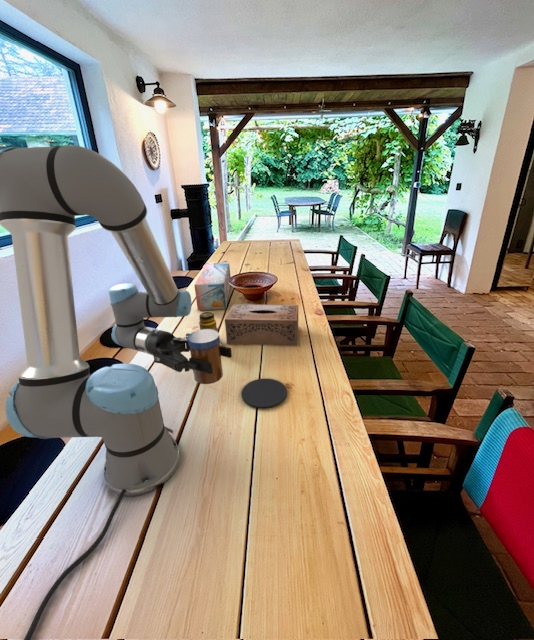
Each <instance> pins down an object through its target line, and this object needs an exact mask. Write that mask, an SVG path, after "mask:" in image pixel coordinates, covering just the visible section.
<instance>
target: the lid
mask: <svg viewBox="0 0 534 640" xmlns="http://www.w3.org/2000/svg"><path fill="white" fill-rule="evenodd" d="M189 334H190V335H189V336H188V346H190V347H191V348H193V349H198V350H203V349H209V348H212V347H214V346H216V345H217V344H218V343H219V342H221V340H220V339H221V337H220V333H219V332H218V330H217V331H215V330H212V329H203V330H200V329H198V330H195V331H193V332H191V333H189Z"/></svg>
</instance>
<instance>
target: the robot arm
mask: <svg viewBox="0 0 534 640" xmlns="http://www.w3.org/2000/svg"><path fill="white" fill-rule="evenodd" d="M76 216H89V217H92V218H94V219H95V220H97V222H98V223H99V224H100V226H101V227H102V229H103V230H105V231H106V232H110V233H111V235H112V236H113V238H114V239H115V241H116V243H117V245H118V247H119V248H120V251H122V253H123V254H124V256H125V258H126V260H127V261H128V263H129V265H130V266H131V268H132V269H133V271H134V273H135V275H136V276H137V278H138V280H139V281H140V283H141V285H142V286H143V288H144V290H145V291H139V289H138V288H137V285H136V284H134V283H129V282H128V283H120V284H116V285H113V286H112V287H111V288H109V290H108V295H109V296H108V297H109V300H110V306H111V309H112V312H113V316H114V320H115V324H114V325H113V327H112V328H111V331H112V332H111V334H110V335H111V340H112V341H113V342H114V343H115V344H117V345H118V346H121V347H122V348H125V349H130V350H134V351H138V352H139V353H140V352H141V353H144V354H147V355H150V356H152V357H153V361H154V363H155V364H161V365H163V366H165V367H167V368H169V369H171V370H173V371H175V372H177V373H181V372H182V371H183V370H184V372H187V373H188V372H190V370H192V371H193V370H199V371H202V372H205V373H208V374H212V373H213V372H212V364H211V363H209V362H205V361H202V360H199V359H195V358H192V357H191V356H190V357H189V358H187V357H186V355H184V354H183V353H190V347H189V346H188V336H189V335H190V334H191V333H186V334H185V336H184V337H176V336H174V334H173V333H172V332H170V331H166V330H162V329H159V328H155V327H150V326H146V325H145V322H144V320H145V318H146V319H147V318H148V319H151V318H180V317H181V318H182V317H188V316H189V315H190V314H191V312H192V306H193V305H192V296H191V294H190V291H189V290H185V289H183V290H182V289H178V287H177V284H176V283H175V281H174V278H173V276H172V274H171V271H170V269H169V267H168V265H167V262H166V261H165V257H164V256H163V253H162V251H161V249H160V247H159V245H158V243H157V240H156V238H155V236H154V234H153V231H152V229H151V227H150V224H149V223H148V220H147V216H148V209H147V206H146V203H145V201H144V199H143V196H142V195H141V193H140V192H139V191H138V189H137V187H136V186H135V184H134V183H133V182H132V181H131V180H130V178H129V177H128V176H127V175H126V173H124V171H122V169H120V168H119V167H118V166H117V165H116V164H115V163H113V162H112V161H111V160H109V159H108V158H106V157H105V156H104V155H102V154H100V153H99V152H96V151H94V150H92V149H90V148H87V147H84V146H81V145H73V144H67V145H66V144H65V145H61V146H60V145H58V146H57V145H56V146H34V147H33V146H32V147H19V146H10V147H9V146H8V147H6V148H3V149H0V226H1V227H2V228H3V229H5V230H6V231H7V232H9V234H10V235H11V239H12V248H13V249H12V251H13V257H14V265H15V272H16V281H17V289H18V290H17V291H18V299H19V306H20V308H19V309H20V316H21V323H22V331H23V339H24V340H23V341H24V348H25V349H24V350H25V356H26V366H24V368H22V370H21V371H20V372H19V373H18V377H17V378H18V381H16V382H15V383H14V384H13V385H12V387H11V388H10V389H9V392H8V394H9V395H10V396H7V397H6V399H5V407H4V409H5V415H6V416H5V417H6V419H7V422H8V424H9V426H10V427H11V428H12V429H13V430H14V431H15V432H16V433H17V434H19V435H21V436H23V437H26V438H37V439H38V438H39V439H42V440H48V439H58V438H61V439H62V438H63V439H64V438H65V439H66V438H102V441H103V443H104V447H105V449H106V450H105V462H104V465H103V466H104V467H103V476H104V480H105V482H106V485H107V487H108V488H109V490H110V491H112V492H113V493H114V494H115V495H118V498H117V499H116V501H115V503H114V505H113V507H112V509H111V511H110V513H109V516H108V517H107V520H106V522H105V525H104V527H103V529H102V531H101V533H100V534H99V535H98V537H97V538H96V540H95V541H94V542H93V543H92V545H91V546H89V548H88V549H87V550H86V551H85V552H84V553H83V554H81V555H80V556H79V557H78V558H76V560H74V562H72V563H71V564H70V565H69V566H68V567H67V568H66V569H65V570H64V571H63V572H62V573H61V574H60V575H59V577H58V578H57V579H56V581H54V583H53V584H52V586H51V587H50V589H49V590H48V592H47V593H46V595H45V596H44V598H43V600H42V602H41V603H40V605H39V607H38V609H37V611H36V613H35V615H34V617H33V619H32V622H31V623H30V625H29V627H28V628H29V629H28V630H27V632H26V634H25V637H24V639H23V640H32V638H33V636H34V633H35V631H36V629H37V627H38V624H39V622H40V620H41V618H42V615H43V613H44V611H45V609H46V607H47V606H48V604H49V602H50V600H51V598H52V597H53V595H54V593H55V592H56V591H57V589H58V588H59V587H60V585H61V584H62V583H63V581H64V580H65V579H66V578H67V577H68V575H70V574H71V572H73V570H74V569H76V567H78V566H79V565H80V564H81V563H82V562H83V561H84V560H86V559H87V558H88V557H89V556H90V555H91V554H92V553H93V552H94V551H95V549H96V548H97V547H98V546H99V545H100V544H101V542H102V541H103V539H104V538H105V536H106V534H107V533H108V531H109V528H110V526H111V523H112V522H113V519H114V517H115V514H116V513H117V511H118V508H119V506H120V504H121V502H122V501H123V499H124V497H137V496H141V495H145V494H148V493H150V492H152V491H155V490H157V489H158V488H159V487H161V486H162V485H164V484H165V483H167V482H168V480H170V478H171V477H172V476H173V475H174V474H175V472H176V470H177V469H178V466H179V464H180V457H181V456H180V455H181V454H180V450H179V445H178V443H177V441H176V440H175V438H174V437H173V436H172V435H174V434H175V433H174V429H171V428H170V427H167V426H166V425H165V421H164V417H163V413H162V412H163V411H162V407H161V402H160V398H159V390H158V387H157V385H156V382H155V379H154V377H153V374H152V373H151V372H149V370H148V369H147V368H145V367H143V366H142V365H139V364H134V363H115V364H114V363H113V364H111V366H103V367H101V368H99V369H97V370H96V371H93V373H91V371H90V364H89V363H88V362H87V361H85V360H84V359H82V358H81V356H80V348H79V336H78V327H77V316H76V305H75V299H74V287H73V276H72V266H71V257H70V247H69V236H70V235H71V234H72V233H73V232H74V231H75V230H76V229H77V227H76ZM220 352H221V357H225V358H228V359H232V358H233V354H232V347H229V346H225V345H223V344H222V345H220ZM171 434H172V435H171Z"/></svg>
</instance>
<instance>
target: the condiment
mask: <svg viewBox="0 0 534 640" xmlns="http://www.w3.org/2000/svg"><path fill="white" fill-rule="evenodd" d="M198 317H199V322H198V326H199V330H203V329H212V330H215V331H217V332H218V327H217V320H216V318H215V313H214V312H212V311H204V312H203V311H202V312H201V313H200V314H199V316H198ZM219 343H220V345H222V346H223V343H222V342H221V341H220V342H219Z"/></svg>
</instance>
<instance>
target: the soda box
mask: <svg viewBox="0 0 534 640" xmlns="http://www.w3.org/2000/svg"><path fill="white" fill-rule="evenodd" d="M230 266H231V265H230V262H228V261H227V262H225V261H224V262H208V263H205V264H204V266H203V268H202V270H201V271H200V274H199V276H198V278H197V280H196V281H195V283H194V287H193V288H194V293H195V301H196V307H197V311H208V310H209V311H211V310H226V309H227V305H228V301H229V294H230V290H231V285H230V284H229V280H230V278H231V279H232V277H231V268H230Z"/></svg>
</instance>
